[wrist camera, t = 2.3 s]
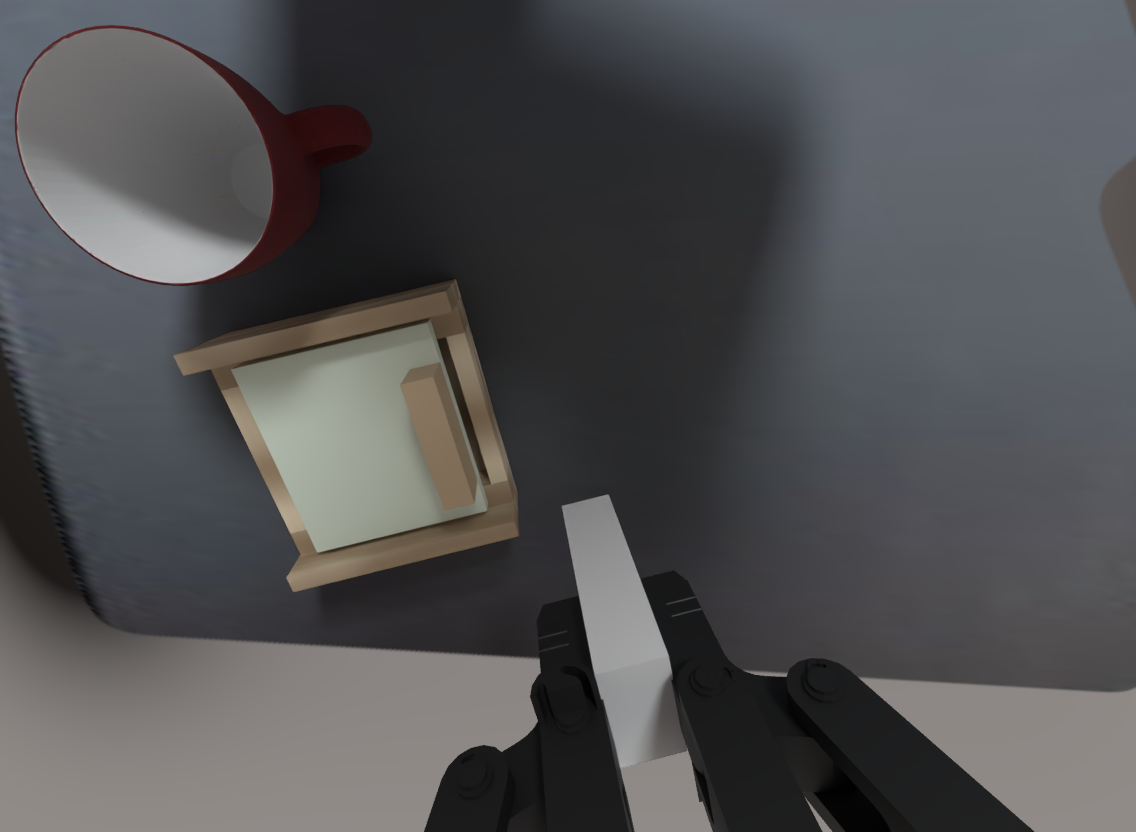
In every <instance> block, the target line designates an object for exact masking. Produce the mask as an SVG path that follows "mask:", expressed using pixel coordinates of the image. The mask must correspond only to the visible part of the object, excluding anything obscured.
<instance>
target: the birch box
mask: <svg viewBox="0 0 1136 832" xmlns="http://www.w3.org/2000/svg"><path fill="white" fill-rule="evenodd" d="M428 319H430V320H431V323H432V326H433V330H434V333H435V336H436V339H437V342H438V345H439V349H440V352H441V355H442V358H443V361H444V364H445V368H446V371H447V374H448V377H449V380H450V384H451V387H452V390H453V393H454V396H455V399H456V403H457V406H458V409H459V412H460V415H461V418H462V422H463V425H464V428H465V431H466V434H467V438H468V441H469V444H470V447H471V450H472V453H473V457H474V460H475V463H476V466H477V469H478V472H479V476H480V479H481V482H482V485H483V488H484V492H485V495H486V498H487V501H488V508H487V511H485V512H481V513H477V514H473V515H469V516H465V517H460V518H456V519H452V520H448V521H444V522H440V523H436V524H432V525H428V526H424V527H420V528H416V529H412V530H408V531H404V532H400V533H396V534H392V535H387V536H383V537H379V538H375V539H371V540H367V541H363V542H359V543H355V544H351V545H347V546H343V547H339V548H335V549H331V550H327V551H323V552H318V553H317V551H316V549H315V547H314V545H313V543H312V541H311V538H310V536H309V534H308V532H307V530H306V528H305V526H304V524H303V521H302V519H301V517H300V515H299V513H298V511H297V509H296V507H295V505H294V502H293V500H292V498H291V496H290V494H289V492H288V490H287V488H286V485H285V483H284V481H283V479H282V477H281V475H280V473H279V471H278V468H277V466H276V464H275V462H274V460H273V458H272V456H271V454H270V452H269V449H268V447H267V445H266V443H265V441H264V439H263V437H262V435H261V432H260V430H259V428H258V426H257V424H256V422H255V420H254V418H253V415H252V413H251V411H250V409H249V407H248V405H247V403H246V401H245V399H244V396H243V394H242V392H241V390H240V388H239V386H238V384H237V382H236V379H235V377H234V375H233V373H232V371H231V369H232V368H234V367H236V366H238V365H240V364H243V363H247V362H252V361H256V360H260V359H264V358H269V357H273V356H277V355H281V354H285V353H290V352H294V351H298V350H302V349H306V348H311V347H315V346H319V345H323V344H327V343H332V342H336V341H340V340H344V339H348V338H353V337H357V336H361V335H365V334H370V333H374V332H378V331H382V330H386V329H391V328H395V327H399V326H403V325H407V324H412V323H416V322H420V321H424V320H428ZM174 358H175V360H176V362H177V364H178V366H179V368H180V370H181V372H182V374H183V376H184V375H189V374H193V373H197V372H201V371H205V370H210V369H211V371H212V373H213V375H214V377H215V379H216V382H217V384H218V386H219V388H220V390H221V392H222V394H223V396H224V398H225V400H226V402H227V404H228V406H229V408H230V410H231V412H232V414H233V416H234V419H235V421H236V423H237V425H238V427H239V429H240V431H241V433H242V435H243V437H244V439H245V441H246V443H247V445H248V447H249V449H250V451H251V453H252V456H253V458H254V460H255V462H256V464H257V466H258V468H259V470H260V472H261V474H262V476H263V478H264V480H265V482H266V484H267V486H268V488H269V490H270V493H271V495H272V497H273V499H274V501H275V503H276V505H277V507H278V509H279V511H280V513H281V515H282V517H283V519H284V521H285V523H286V525H287V528H288V530H289V532H290V534H291V536H292V538H293V540H294V542H295V544H296V546H297V548H298V550H299V552H300V554H301V555H300V556H299V558H298V560H297V561H296V563H295V565H294V566H293V568H292V569H291V571H290V573H289V574H288V576H287V580H288V582H289V584H290V586H291V588H292V590H293V592H296V591H300V590H304V589H308V588H312V587H316V586H320V585H324V584H328V583H332V582H336V581H340V580H344V579H348V578H352V577H357V576H361V575H365V574H369V573H373V572H377V571H381V570H385V569H389V568H393V567H397V566H401V565H405V564H409V563H413V562H417V561H421V560H425V559H429V558H433V557H437V556H441V555H445V554H449V553H453V552H457V551H461V550H465V549H469V548H474V547H478V546H482V545H486V544H490V543H494V542H498V541H502V540H506V539H510V538H514V537H518V536H519V524H518V496H517V489H516V486H515V482H514V479H513V475H512V472H511V468H510V465H509V461H508V458H507V454H506V451H505V448H504V444H503V441H502V437H501V434H500V430H499V427H498V423H497V420H496V416H495V413H494V409H493V406H492V403H491V399H490V396H489V392H488V389H487V385H486V382H485V378H484V375H483V371H482V368H481V364H480V361H479V358H478V354H477V351H476V347H475V344H474V340H473V337H472V333H471V330H470V326H469V323H468V319H467V316H466V312H465V309H464V306H463V302H462V299H461V295H460V292H459V288H458V285H457V281H456V279H454V280H450V281H445V282H441V283H437V284H433V285H428V286H424V287H420V288H416V289H412V290H407V291H403V292H399V293H395V294H390V295H386V296H382V297H378V298H373V299H369V300H365V301H361V302H357V303H352V304H348V305H344V306H340V307H335V308H331V309H327V310H323V311H318V312H314V313H310V314H306V315H301V316H297V317H293V318H289V319H285V320H280V321H276V322H272V323H268V324H263V325H259V326H255V327H251V328H246V329H242V330H238V331H234V332H229V333H226V334H224V335H222V336H219V337H217V338H214V339H212V340H210V341H207V342H205V343H202V344H200V345H198V346H195V347H193V348H190V349H188V350H186V351H183V352H181V353H178V354H176V355H174Z"/></svg>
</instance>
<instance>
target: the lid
mask: <svg viewBox="0 0 1136 832" xmlns="http://www.w3.org/2000/svg"><path fill="white" fill-rule="evenodd" d="M231 371H232V373H233V375H234V377H235V379H236V382H237V384H238V386H239V388H240V390H241V392H242V394H243V396H244V399H245V401H246V403H247V405H248V407H249V409H250V411H251V413H252V415H253V418H254V420H255V422H256V424H257V426H258V428H259V430H260V432H261V435H262V437H263V439H264V441H265V443H266V445H267V447H268V449H269V452H270V454H271V456H272V458H273V460H274V462H275V464H276V466H277V468H278V471H279V473H280V475H281V477H282V479H283V481H284V483H285V485H286V488H287V490H288V492H289V494H290V496H291V498H292V500H293V502H294V505H295V507H296V509H297V511H298V513H299V515H300V517H301V519H302V521H303V524H304V526H305V528H306V530H307V532H308V534H309V536H310V538H311V541H312V543H313V545H314V547H315V549H316V551H317V553H318V552H323V551H327V550H331V549H335V548H339V547H343V546H347V545H351V544H355V543H359V542H363V541H367V540H371V539H375V538H379V537H383V536H387V535H392V534H396V533H400V532H404V531H408V530H412V529H416V528H420V527H424V526H428V525H432V524H436V523H440V522H444V521H448V520H452V519H456V518H460V517H465V516H469V515H473V514H477V513H481V512H485V511H487V508H488V501H487V498H486V495H485V492H484V488H483V485H482V482H481V479H480V476H479V472H478V469H477V466H476V463H475V460H474V457H473V453H472V450H471V447H470V444H469V441H468V438H467V434H466V431H465V428H464V425H463V422H462V418H461V415H460V412H459V409H458V406H457V403H456V399H455V396H454V393H453V390H452V387H451V384H450V380H449V377H448V374H447V371H446V368H445V364H444V361H443V358H442V355H441V352H440V349H439V345H438V342H437V339H436V336H435V333H434V330H433V326H432V323H431V320H430V319H428V320H424V321H420V322H416V323H412V324H407V325H403V326H399V327H395V328H391V329H386V330H382V331H378V332H374V333H370V334H365V335H361V336H357V337H353V338H348V339H344V340H340V341H336V342H332V343H327V344H323V345H319V346H315V347H311V348H306V349H302V350H298V351H294V352H290V353H285V354H281V355H277V356H273V357H269V358H264V359H260V360H256V361H252V362H247V363H243V364H240V365H238V366H236V367H234V368H232V369H231Z"/></svg>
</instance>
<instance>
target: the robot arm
mask: <svg viewBox="0 0 1136 832" xmlns="http://www.w3.org/2000/svg"><path fill="white" fill-rule="evenodd" d="M562 510H563V515H564V521H565V526H566V531H567V536H568V541H569V546H570V552H571V557H572V562H573V567H574V572H575V577H576V582H577V588H578V593H579V596H577V597H573V598H569V599H565V600H561V601H557V602H553V603H549V604H545V605H543V607H542V610H541V612H540V614H539V617H538V619H537V629H538V639H539V640H538V642H539V652H540V653H539V655H540V668H541V673H540V674H539V675H538V677H537V678H536V680H535V682H534V683H533V685H532V689H531V695H530V698H531V701H532V704H533V707H534V710H535V713H536V716H537V719H538V722H537V724H536V726H535V727H534V728H533V730H532V731H531V732H530V733H529V734H528V735H527V736H526V737H524V738H523V739H522V740H520V741H519V742H517V743H516V744H514V745H513V746H511V747H509V748H508V749H506V750H504V751H503V752H501V751H499V750H498V749H497V748H495V747H491V746H486V745H482V746H478V747H473V748H470V749H469V750H467V751H465V752H463V753H462V754H460V755H459V756H458V757H457V758H456V759H455V760H454V761H453V762H452V763H451V764H450V765H449V766H448V768H447V770H446V772H445V774H444V776H443V778H442V780H441V783H440V786H439V789H438V792H437V795H436V798H435V801H434V804H433V807H432V810H431V813H430V816H429V818H428V821H427V825H426V827H425V830H424V832H634V828H633V822H632V818H631V813H630V809H629V804H628V799H627V795H626V791H625V787H624V784H623V779H622V775H621V770H620V768H624V767H628V766H632V765H635V764H639V763H643V762H646V761H651V760H654V759H658V758H662V757H666V756H670V755H673V754H677V753H681V752H685V751H687V749H688V751H689V754H690V757H691V760H692V766H693V771H694V776H695V781H696V787H697V791H698V797H699V802H701V801H703V804H704V806H705V810H706V813H707V816H708V819H709V822H710V825H711V827H712V831H713V832H822V830H821V828H820V826H819V824H818V822H817V820H816V818H815V816H814V815H813V813H812V811H811V809H810V807H809V805H808V803H807V801H806V799H807V800H808V801H809V802H810V804H811V805H812V806H813V808H814V809H815V810H816V811H817V813H818V814H819V815H820V816H821V818H822V819H823V820H824V821H825V823H826V824H827V825H828V827H829V828H830V829H831V830H832V832H1034V831H1033V830H1032V829H1031V828H1030V827H1028V826H1027V825H1026V824H1025V823H1024V822H1022V820H1020V819H1019V818H1018V817H1017V816H1016V815H1015V814H1013V813H1012V812H1011V811H1010V810H1009V809H1008V808H1007V807H1006V806H1004V805H1003V804H1002V803H1001V802H1000V801H999V800H997V799H996V798H995V797H994V796H993V795H992V794H991V793H989V792H988V791H987V790H986V789H985V788H983V786H982V785H980V784H979V783H978V782H977V781H976V780H975V779H974V778H972V777H971V776H970V775H969V774H968V773H967V772H966V771H964V770H963V769H962V768H961V767H960V766H959V765H958V764H956V763H955V762H954V761H953V760H952V759H951V758H949V757H948V756H947V755H946V754H945V753H944V752H943V751H941V750H940V749H939V748H938V747H937V746H936V745H935V744H933V743H932V742H931V741H930V740H929V739H928V738H927V737H925V736H924V735H923V734H922V733H921V732H920V731H919V730H917V729H916V728H915V727H914V726H913V725H912V724H910V723H909V722H908V721H907V720H906V719H905V718H904V717H902V716H901V715H900V714H899V713H898V712H897V711H896V710H894V709H893V708H892V707H891V706H890V705H889V704H888V703H886V702H885V701H884V700H883V699H882V698H881V697H880V696H879V695H877V694H876V693H875V692H874V691H873V690H872V689H870V688H869V687H868V686H867V685H866V684H865V683H864V682H863V681H861V680H860V679H859V678H858V677H857V676H856V675H855V674H853V673H852V672H851V671H850V670H848V669H847V668H845V667H844V666H842V665H840V664H839V663H836V662H833V661H830V660H827V659H816V658H810V659H806V660H803V661H800V662H797V663H796V664H795V665H794V666H793V667H791V668H790V669H789V672H788V675H787V677H774V676H772V677H771V676H760V675H754V674H751V673H748V672H745V671H743V670H741V669H739V668H738V667H736V666H735V665H733V664H732V663H731V662H730V661H729V660H728V659H727V657H726V656H725V654H724V653H723V651H722V649H721V647H720V645H719V643H718V641H717V639H716V637H715V635H714V633H713V631H712V629H711V627H710V625H709V623H708V621H707V619H706V617H705V615H704V613H703V611H702V610H701V607H700V605H699V603H698V601H697V599H696V598H695V595H694V593H693V591H692V589H691V587H690V585H689V583H688V581H687V580H685V579H684V578H683V577H682V576H680V575H679V574H678V573H676V572H675V571H670V572H666V573H662V574H658V575H654V576H650V577H646V578H642V579H640V577H639V575H638V572H637V569H636V567H635V564H634V561H633V559H632V556H631V553H630V551H629V548H628V545H627V543H626V540H625V537H624V534H623V532H622V529H621V526H620V524H619V521H618V518H617V516H616V513H615V510H614V508H613V505H612V502H611V500H610V497H609V494H608V495H604V496H600V497H596V498H592V499H588V500H584V501H580V502H576V503H572V504H568V505H563V506H562ZM686 746H687V747H686ZM804 796H805V797H804ZM805 798H806V799H805Z"/></svg>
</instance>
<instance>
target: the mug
mask: <svg viewBox="0 0 1136 832" xmlns="http://www.w3.org/2000/svg"><path fill="white" fill-rule="evenodd" d="M15 135H16V143H17V148H18V153H19V157H20V160H21V163H22V166H23V170H24V172H25V174H26V177H27V179H28V182H29V184H30V186H31V188H32V190H33V192H34V193H35V195H36V197H37V199H38V200H39V202H40V203H41V205H42V207H43V208H44V209H45V211H46V212H47V213H48V215H49V216H50V218H51V219H52V220H53V221H54V222H55V223H56V225H57V226H58V227H59V228H60V229H61V230H62V231H63V232H64V233H65V234H66V235H67V236H68V237H69V238H70V239H71V240H72V241H73V242H74V243H75V244H76V245H78V246H79V247H80V248H81V249H83V250H84V251H85V252H87V253H88V254H89V255H90V256H92V257H94V258H95V259H97V260H98V261H100V262H101V263H103V264H105V265H107V266H108V267H110V268H112V269H114V270H116V271H118V272H121V273H123V274H125V275H128V276H131V277H133V278H136V279H139V280H143V281H147V282H151V283H156V284H162V285H173V286H188V285H198V284H204V283H211V282H216V281H221V280H226V279H231V278H235V277H238V276H241V275H244V274H247V273H250V272H252V271H254V270H257V269H259V268H260V267H262V266H264V265H266V264H267V263H269V262H271V261H272V260H273V259H275V258H276V257H277V256H279V255H280V254H281V253H283V252H284V251H285V250H286V249H288V248H289V247H290V246H292V245H293V244H294V243H295V242H297V241H298V240H299V239H300V238H301V237H302V236H303V235H304V234H305V233H306V232H307V231H308V229H309V228H310V226H311V225H312V223H313V221H314V219H315V217H316V214H317V211H318V207H319V202H320V168H321V167H324V166H327V165H330V164H334V163H338V162H341V161H345V160H348V159H351V158H354V157H356V156H358V155H360V154H362V153H363V152H365V151H366V150H368V149H369V148H370V145H371V143H372V133H371V129H370V126H369V124H368V122H367V120H366V118H365V117H364V115H363V114H362V113H361V112H360V111H359V110H357V109H355V108H353V107H350V106H346V105H327V106H319V107H313V108H308V109H304V110H301V111H297V112H294V113H291V114H288V115H283V114H282V113H281V112H279V111H278V110H277V109H276V108H275V107H274V106H273V105H272V104H271V103H270V102H269V101H268V100H267V99H266V98H265V97H264V96H263V95H262V94H261V93H260V92H259V91H258V90H256V89H255V88H254V87H253V86H252V85H250V84H249V83H248V82H247V81H246V80H244V79H243V78H242V77H241V76H239V75H238V74H236V73H235V72H233V71H232V70H230V69H229V68H227V67H226V66H224V65H223V64H221V63H219V62H217V61H216V60H214V59H212V58H210V57H208V56H206V55H204V54H203V53H201V52H199V51H197V50H194V49H192V48H190V47H188V46H186V45H184V44H182V43H180V42H177V41H175V40H173V39H171V38H169V37H166V36H163V35H161V34H158V33H155V32H151V31H148V30H144V29H140V28H134V27H128V26H115V25H107V26H95V27H90V28H85V29H81V30H78V31H75V32H72V33H70V34H68V35H66V36H63V37H61V38H60V39H58V40H57V41H55V42H53V43H52V44H51V45H49V46H48V47H47V48H46V49H45V50H43V51H42V52H41V54H40V55H39V56H38V57H37V58H36V59H35V60H34V62H33V63H32V65H31V66H30V68H29V69H28V71H27V73H26V75H25V77H24V79H23V81H22V84H21V87H20V90H19V92H18V97H17V102H16V109H15Z"/></svg>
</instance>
